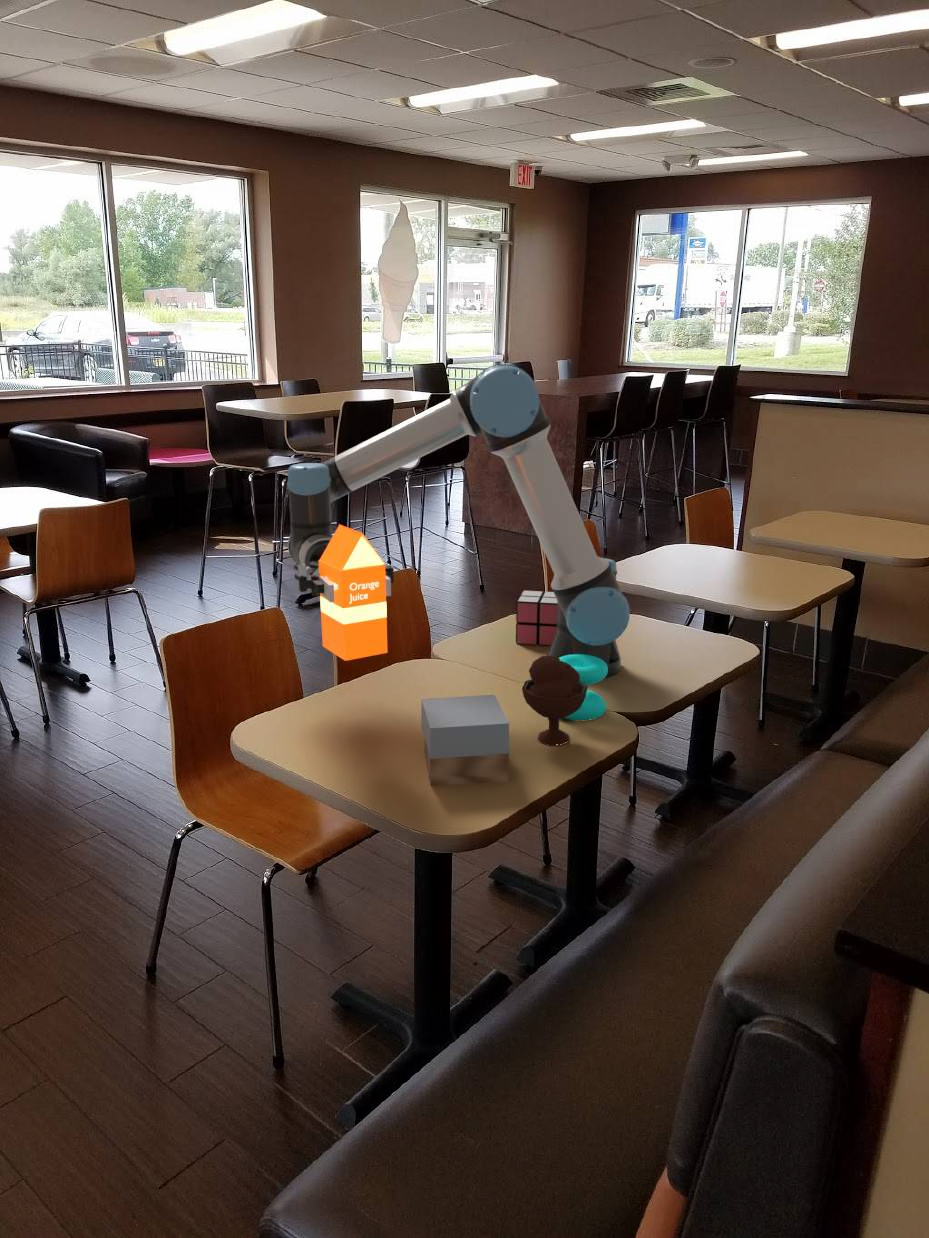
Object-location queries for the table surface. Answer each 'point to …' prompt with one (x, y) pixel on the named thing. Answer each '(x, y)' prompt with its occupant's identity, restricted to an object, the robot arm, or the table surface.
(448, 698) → the upper block
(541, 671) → the ice cream bowl
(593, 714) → the donuts
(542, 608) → the puzzle cube
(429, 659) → the table surface
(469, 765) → the lower block
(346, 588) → the orange juice
